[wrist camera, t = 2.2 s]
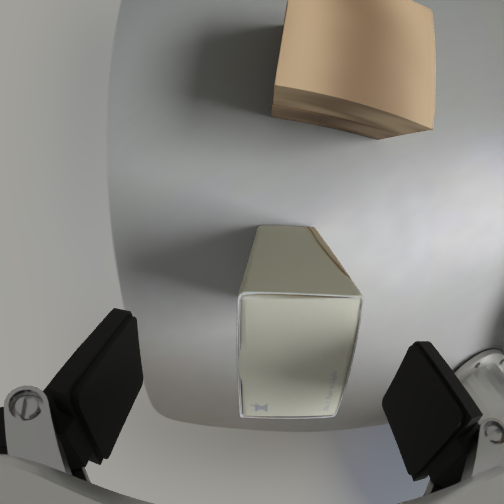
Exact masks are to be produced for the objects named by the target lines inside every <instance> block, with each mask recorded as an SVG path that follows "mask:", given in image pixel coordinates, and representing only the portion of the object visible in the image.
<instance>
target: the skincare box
mask: <svg viewBox="0 0 504 504" xmlns="http://www.w3.org/2000/svg"><path fill="white" fill-rule="evenodd" d="M363 302H364V298H363V295H362V294H361V293H360V291H359V290H358V288H357V287H356V285H355V284H354V282H353V281H352V280H351V278H350V277H349V275H348V274H347V272H346V271H345V269H344V268H343V266H342V265H341V263H340V262H339V261H338V259H337V258H336V256H335V255H334V254H333V252H332V251H331V249H330V248H329V246H328V245H327V244H326V242H325V241H324V240H323V238H322V237H321V236H320V234H319V233H318V231H317V230H316V229H315V228H314V227H301V226H281V225H259V226H258V228H257V231H256V235H255V238H254V242H253V245H252V249H251V252H250V256H249V259H248V262H247V266H246V269H245V273H244V276H243V279H242V283H241V286H240V289H239V293H238V297H237V381H238V399H239V415H240V417H247V418H268V419H309V418H330V417H334V416H336V414H337V412H338V409H339V406H340V403H341V401H342V398H343V394H344V391H345V388H346V384H347V381H348V377H349V374H350V370H351V365H352V361H353V358H354V353H355V348H356V343H357V339H358V333H359V327H360V322H361V317H362V309H363Z"/></svg>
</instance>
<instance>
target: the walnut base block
mask: <svg viewBox="0 0 504 504" xmlns="http://www.w3.org/2000/svg"><path fill="white" fill-rule="evenodd" d="M287 6H288V1H287ZM287 6H286V12H287ZM285 18H286V13H285ZM284 24H285V20H284ZM283 30H284V27H283ZM282 36H283V34H282ZM281 42H282V41H281ZM280 49H281V47H280ZM279 55H280V54H279ZM273 98H274V96H273ZM271 117H273V118H280V119H286V120H293V121H298V122H304V123H309V124H314V125H319V126H324V127H329V128H334V129H338V130H342V131H347V132H351V133H355V134H359V135H363V136H367V137H370V138H374V139H378V140H379V139H384V138H389V137H394V136H399V135H398V134H395V133H392V132H389V131H385V130H382V129H379V128H376V127H372V126H369V125H366V124H362V123H359V122H355V121H351V120H347V119H344V118H340V117H335V116H331V115H327V114H323V113H318V112H313V111H309V110H304V109H298V108H293V107H287V106H282V105H276V104H273V103H272V114H271Z"/></svg>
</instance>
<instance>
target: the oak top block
mask: <svg viewBox="0 0 504 504" xmlns="http://www.w3.org/2000/svg"><path fill="white" fill-rule="evenodd" d="M435 92H436V56H435V36H434V24H433V15H432V10H431V9H429V8H427V7H424V6H422V5H420V4H418V3H416V2H414V1H412V0H288V6H287V12H286V18H285V24H284V30H283V36H282V42H281V49H280V55H279V61H278V67H277V73H276V79H275V85H274V98H273V104H276V105H282V106H287V107H293V108H298V109H304V110H309V111H313V112H318V113H323V114H327V115H331V116H335V117H340V118H344V119H347V120H351V121H355V122H359V123H362V124H366V125H369V126H372V127H376V128H379V129H382V130H385V131H389V132H392V133H395V134H398V135H405V134H410V133H415V132H421V131H427V130H433V125H434V112H435Z"/></svg>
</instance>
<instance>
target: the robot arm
mask: <svg viewBox="0 0 504 504" xmlns="http://www.w3.org/2000/svg"><path fill="white" fill-rule="evenodd" d="M142 383H143V372H142V365H141V357H140V348H139V339H138V328H137V319H136V317H133V316H132V313H131V312H130V311H126V310H120V309H117V308H114V309H113V310H112V311H111V312H110V313H109V314H108V315H107V316H106V317H105V318H104V319H103V321H102V322H101V323H100V324H99V325H98V326H97V327H96V329H95V330H94V331H93V332H92V333H91V334H90V335H89V337H88V338H87V339H86V340H85V341H84V342H83V343H82V344H81V346H80V347H79V348H78V349H77V350H76V351H75V352H74V354H73V355H72V356H71V357H70V359H69V360H68V361H67V362H66V363H65V365H64V366H63V367H62V368H61V369H60V371H59V372H58V373H57V374H56V376H55V377H54V378H53V379H52V381H51V382H50V383H49V385H48V386H47V387H46V388H45V389H44V391H42V390H40V389H38V388H37V387H33V386H21V387H18V388H16V389H14V390H12V391H11V392H10V393H9V394H8V395H7V397H6V399H5V403H4V407H0V504H153V503H149V502H146V501H142V500H138V499H135V498H131V497H128V496H125V495H122V494H119V493H116V492H113V491H110V490H108V489H104V488H102V487H99V486H97V485H94V484H92V483H91V482H90V480H89V477H88V475H87V473H86V470H85V467H86V465H87V463H88V461H92V462H94V463H96V464H99V465H101V463H102V460H103V458H104V459H108V458H109V456H110V454H111V452H112V449H113V447H114V445H115V443H116V440H117V438H118V436H119V434H120V432H121V429H122V427H123V425H124V423H125V421H126V418H127V416H128V414H129V412H130V410H131V408H132V406H133V403H134V401H135V399H136V397H137V395H138V393H139V391H140V389H141V387H142ZM382 407H383V409H384V412H385V414H386V417H387V419H388V422H389V424H390V427H391V429H392V432H393V434H394V437H395V440H396V442H397V445H398V447H399V450H400V453H401V455H402V458H403V461H404V464H405V466H406V469H407V472H408V474H409V475H412V478H413V481H417V480H421V479H424V478H426V477H427V476H428V475H429V476H430V481H429V483H428V486H427V488H426V491H425V493H424V495H423V496H422V497H419V498H416V499H413V500H409V501H406V502H403V503H399V504H504V354H503V353H502V352H500V351H499V350H496V349H491V350H487V351H484V352H482V353H480V354H478V355H476V356H474V357H473V358H472V359H470V360H468V361H467V362H466V363H465V364H464V365H462V366H461V367H460V368H459V369H458V370H457V371H456V372H455V373H454V372H453V371H452V369H451V368H450V367H449V365H448V364H447V363H446V362H445V360H444V359H443V358H442V356H441V355H440V354H439V352H438V351H437V350H436V349H435V347H434V346H433V345H432V343H430V342H428V341H417V342H415V343H413V345H412V346H410V347H409V349H408V351H407V353H406V355H405V357H404V359H403V361H402V363H401V365H400V367H399V369H398V371H397V373H396V375H395V377H394V379H393V381H392V383H391V385H390V387H389V388H388V390H387V392H386V394H385V396H384V398H383V400H382Z"/></svg>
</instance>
